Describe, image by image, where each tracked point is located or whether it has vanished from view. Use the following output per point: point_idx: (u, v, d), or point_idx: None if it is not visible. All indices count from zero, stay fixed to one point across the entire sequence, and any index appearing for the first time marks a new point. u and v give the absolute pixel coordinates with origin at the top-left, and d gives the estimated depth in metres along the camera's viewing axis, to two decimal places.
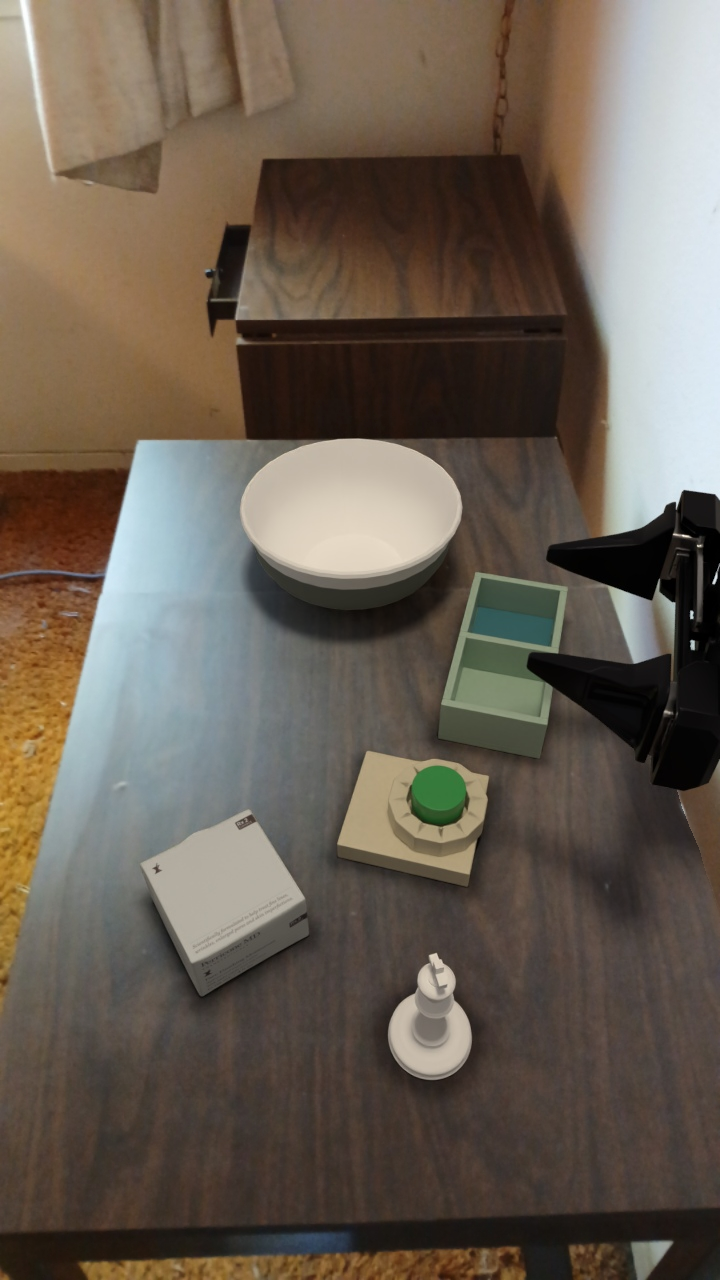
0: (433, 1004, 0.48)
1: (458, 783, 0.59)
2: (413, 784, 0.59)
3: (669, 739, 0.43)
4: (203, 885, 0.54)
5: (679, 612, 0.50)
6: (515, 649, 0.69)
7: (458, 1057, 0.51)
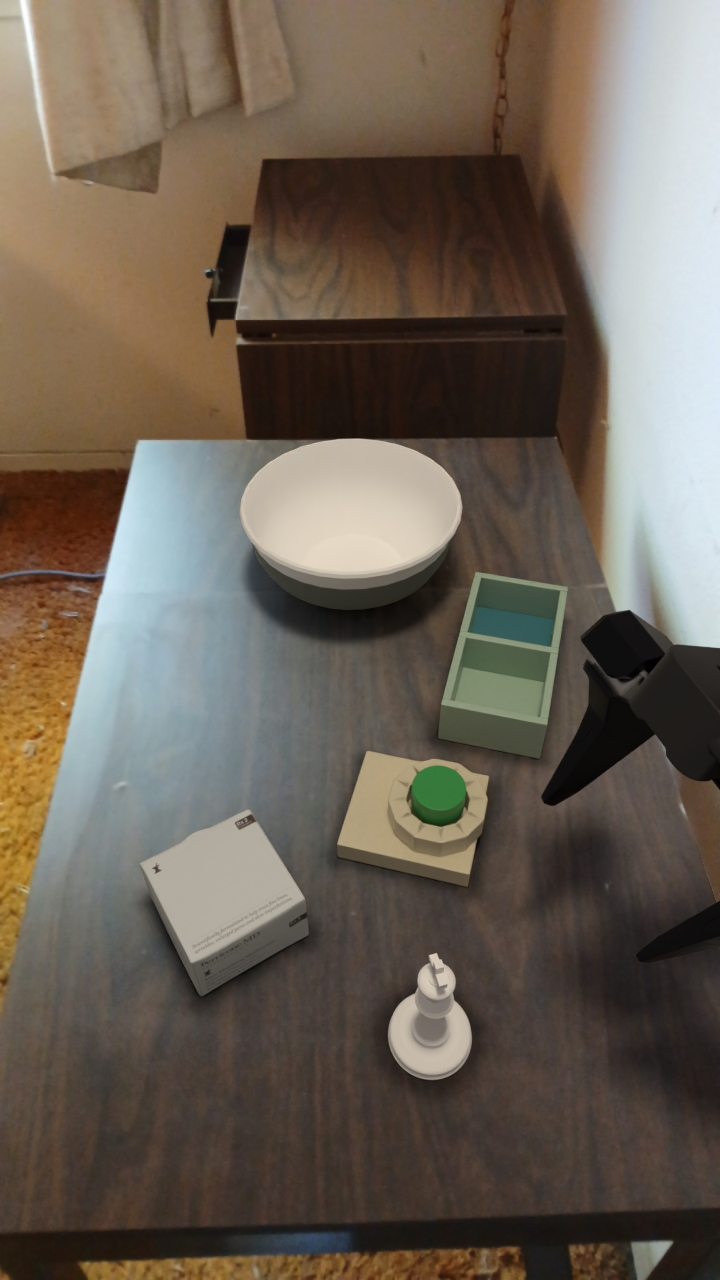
0: (433, 1004, 0.48)
1: (458, 783, 0.59)
2: (413, 784, 0.59)
3: None
4: (203, 885, 0.54)
5: None
6: (515, 649, 0.69)
7: (458, 1057, 0.51)
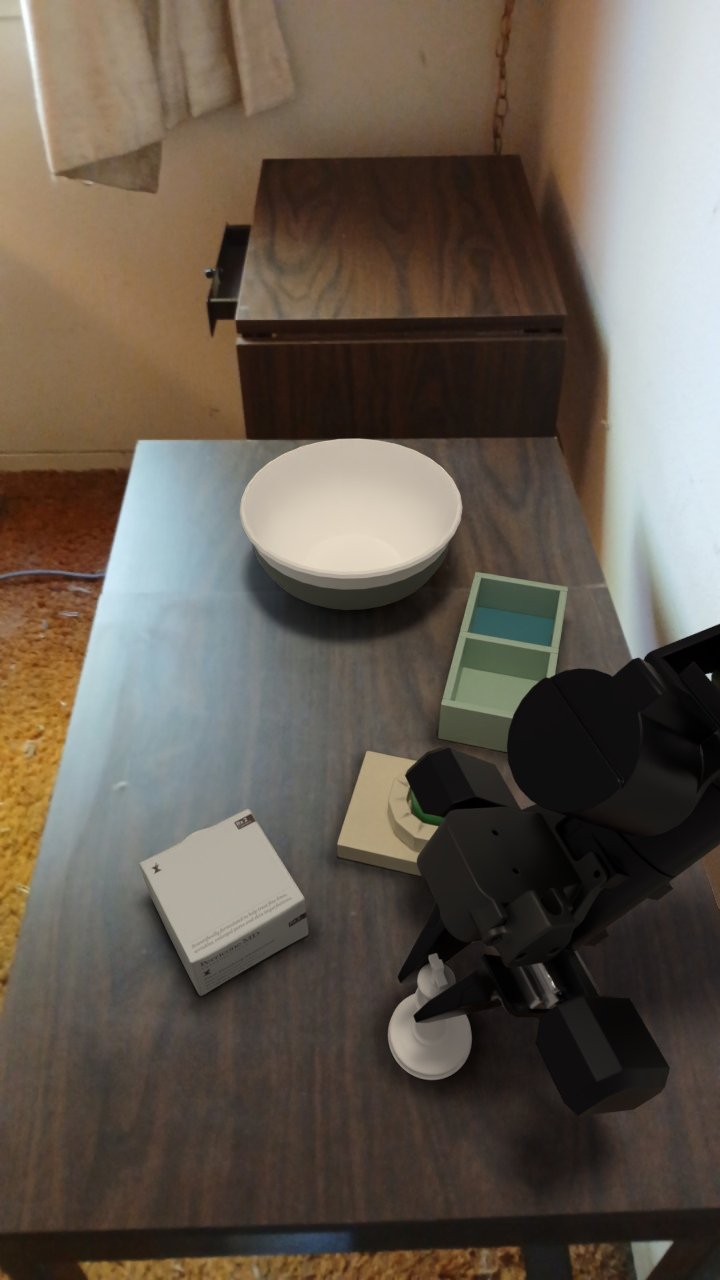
0: None
1: None
2: None
3: None
4: (203, 885, 0.54)
5: None
6: (515, 649, 0.69)
7: (458, 1057, 0.51)
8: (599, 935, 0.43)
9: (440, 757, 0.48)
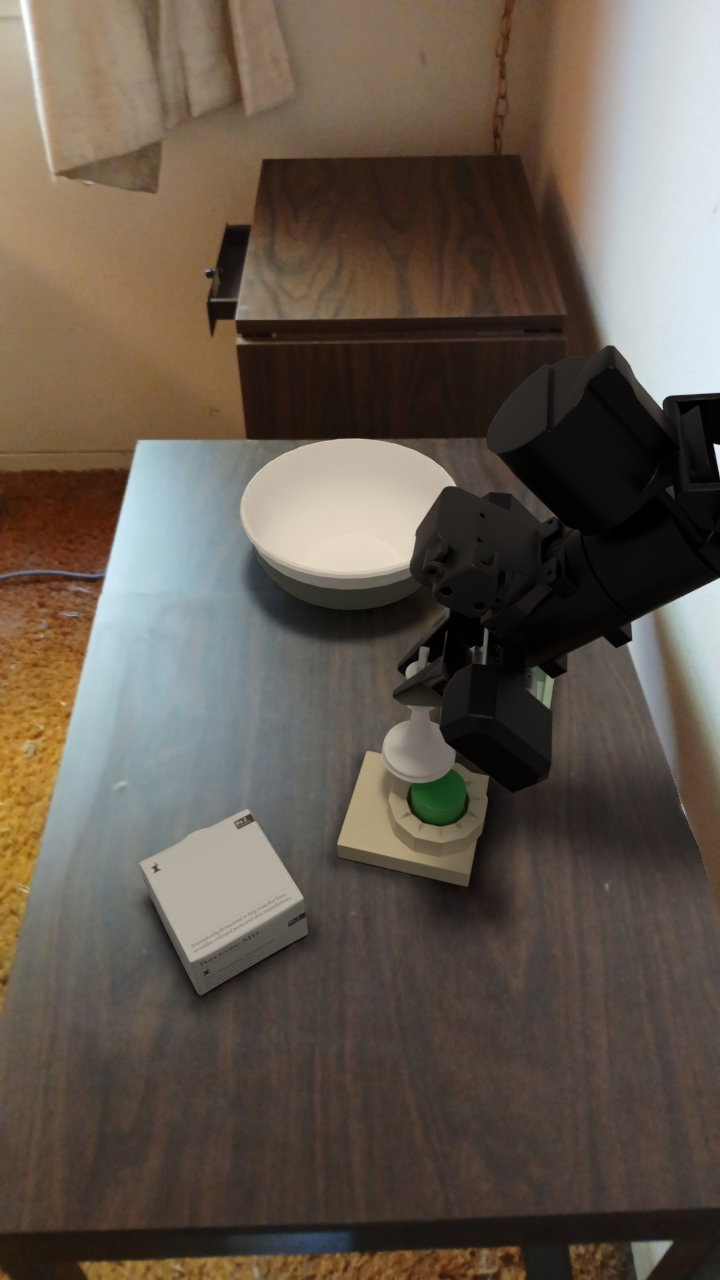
0: None
1: (458, 783, 0.59)
2: (413, 784, 0.59)
3: None
4: (202, 884, 0.54)
5: None
6: None
7: (429, 770, 0.57)
8: (556, 664, 0.48)
9: (499, 496, 0.54)
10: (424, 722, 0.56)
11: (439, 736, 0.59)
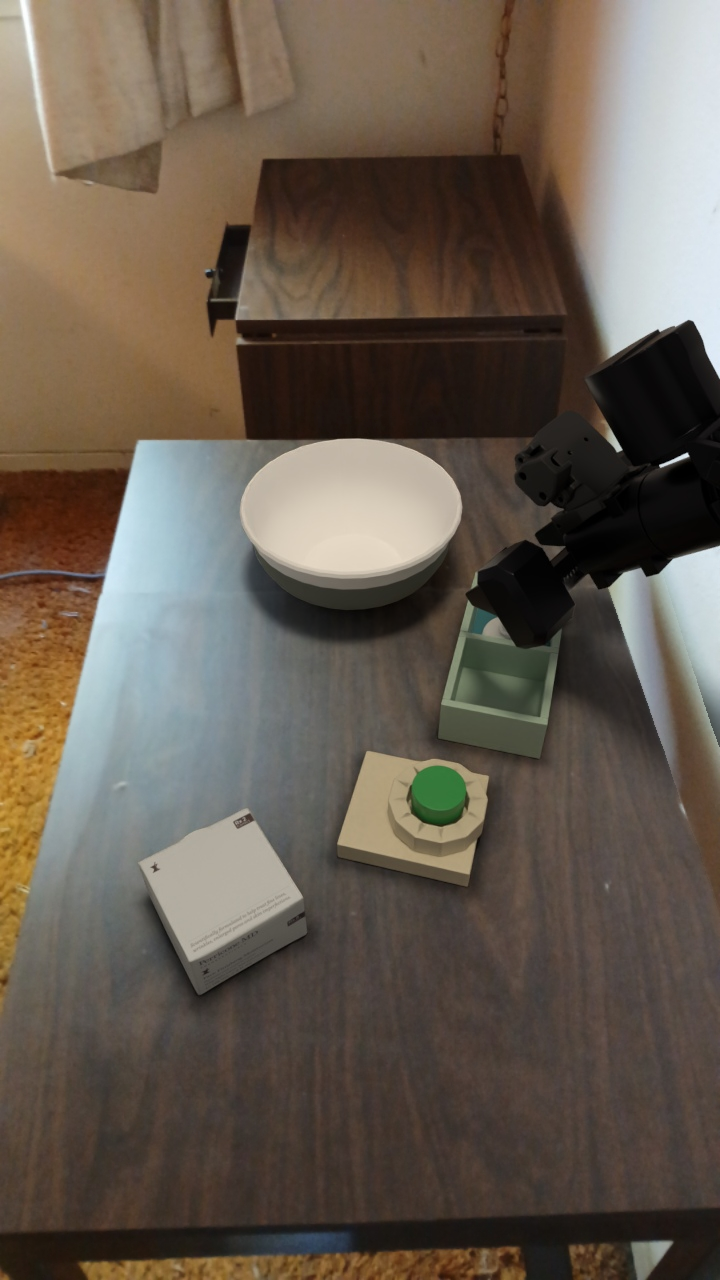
0: None
1: (458, 783, 0.59)
2: (413, 784, 0.59)
3: (488, 599, 0.58)
4: (201, 884, 0.54)
5: None
6: (515, 649, 0.69)
7: None
8: (602, 576, 0.59)
9: None
10: None
11: None
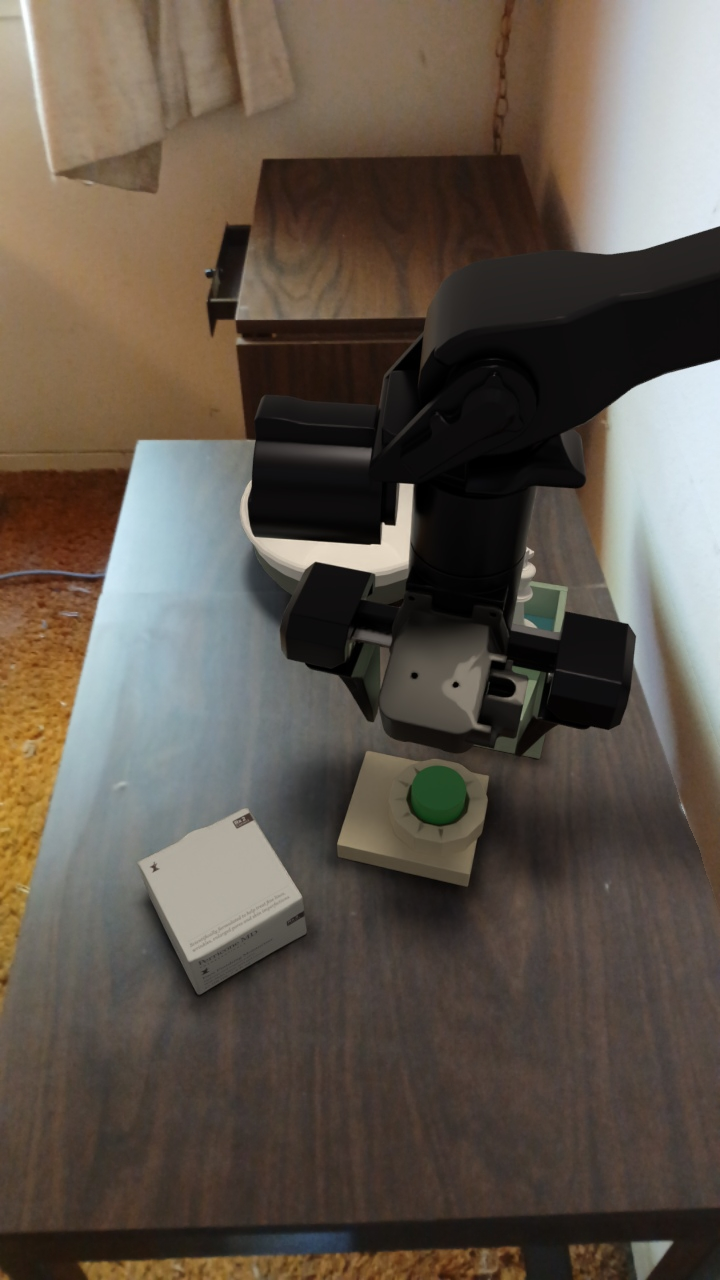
0: None
1: (458, 783, 0.59)
2: (413, 784, 0.59)
3: None
4: (201, 883, 0.54)
5: None
6: None
7: None
8: None
9: (294, 627, 0.48)
10: (516, 613, 0.70)
11: None
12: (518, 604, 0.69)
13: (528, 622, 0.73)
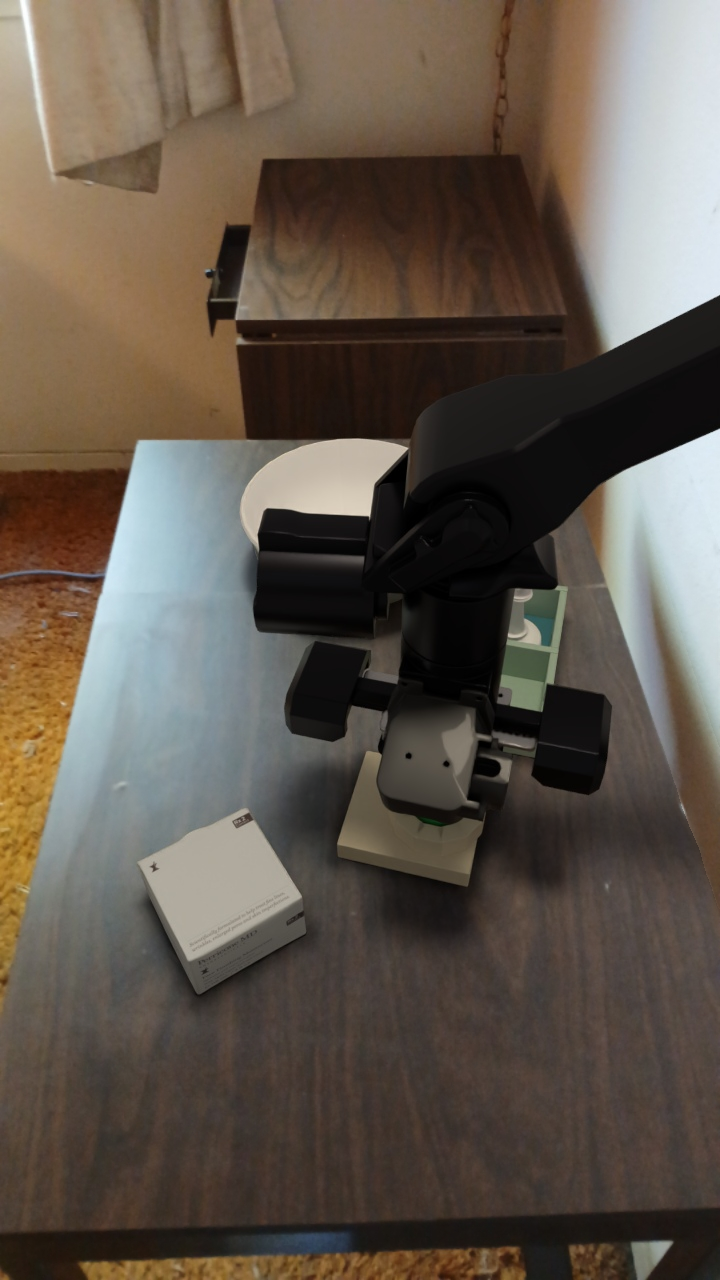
0: None
1: None
2: None
3: None
4: (200, 883, 0.54)
5: None
6: (515, 649, 0.69)
7: None
8: None
9: (297, 706, 0.52)
10: (516, 613, 0.70)
11: (530, 634, 0.72)
12: (518, 604, 0.69)
13: (528, 622, 0.73)
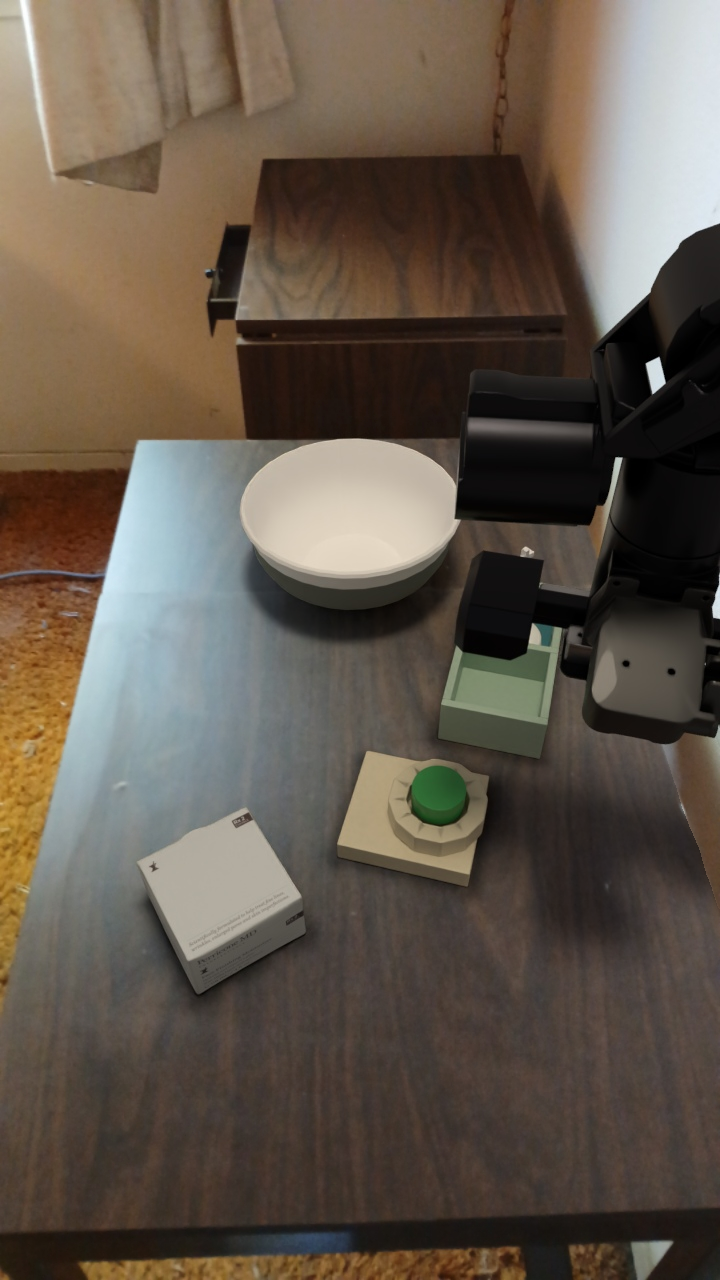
0: None
1: (458, 783, 0.59)
2: (413, 784, 0.59)
3: None
4: (200, 883, 0.54)
5: None
6: None
7: None
8: None
9: (474, 618, 0.46)
10: None
11: (530, 634, 0.72)
12: None
13: None
